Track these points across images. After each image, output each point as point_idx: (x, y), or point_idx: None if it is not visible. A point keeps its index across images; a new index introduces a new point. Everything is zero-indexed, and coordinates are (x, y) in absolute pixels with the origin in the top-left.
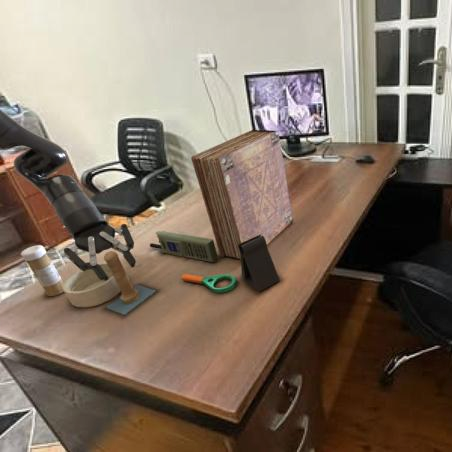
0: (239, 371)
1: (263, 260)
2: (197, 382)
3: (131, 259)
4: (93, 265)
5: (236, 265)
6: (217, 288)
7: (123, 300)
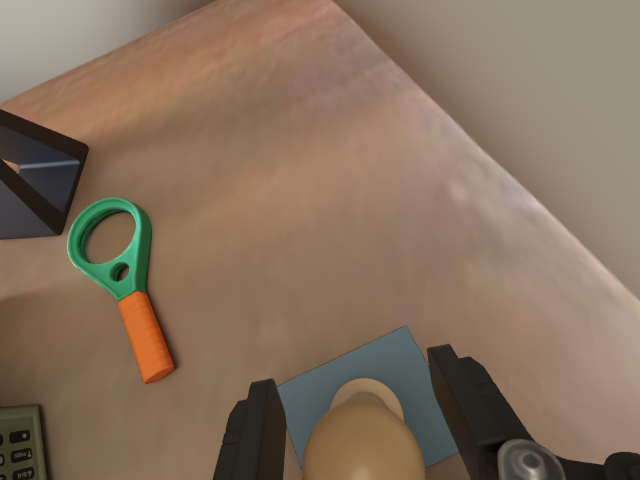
0: (253, 4)
1: None
2: (316, 17)
3: (248, 407)
4: (529, 443)
5: (19, 313)
6: (134, 215)
7: (395, 395)
